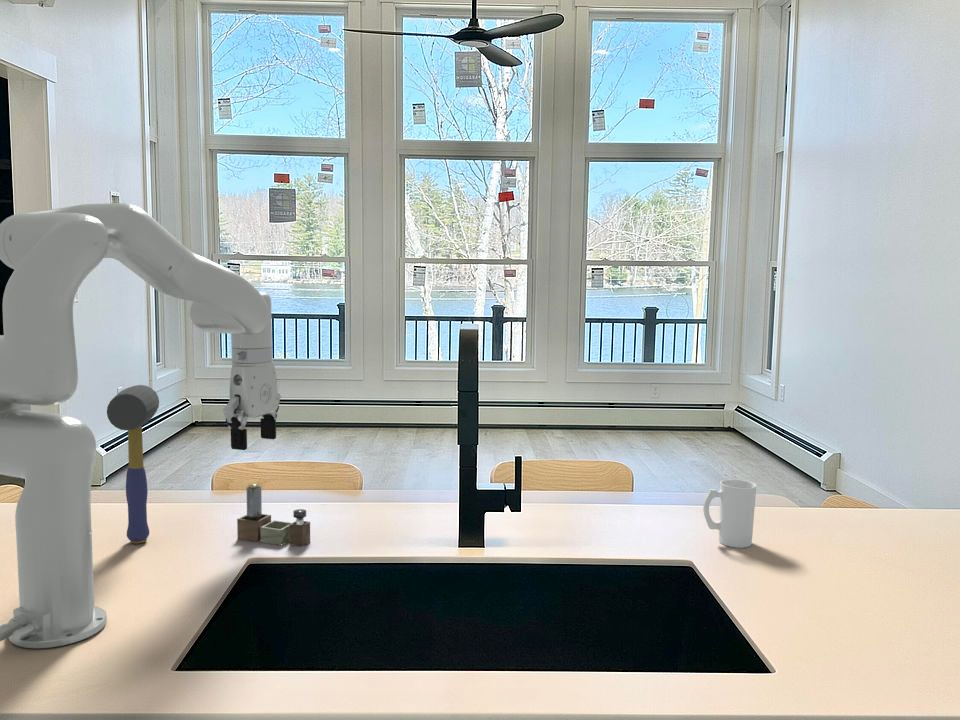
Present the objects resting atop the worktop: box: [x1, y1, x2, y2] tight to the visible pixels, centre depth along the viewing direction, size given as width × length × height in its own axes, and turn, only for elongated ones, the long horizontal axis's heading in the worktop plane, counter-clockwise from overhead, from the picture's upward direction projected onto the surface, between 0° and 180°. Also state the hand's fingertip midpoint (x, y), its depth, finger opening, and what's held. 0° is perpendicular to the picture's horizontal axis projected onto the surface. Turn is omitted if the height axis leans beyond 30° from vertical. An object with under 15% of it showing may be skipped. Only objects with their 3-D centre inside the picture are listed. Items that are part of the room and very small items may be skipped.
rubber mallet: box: [106, 384, 160, 544], centre depth 151 cm, size 12×8×30 cm, turn 11°
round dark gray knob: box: [292, 508, 307, 525], centre depth 153 cm, size 2×2×6 cm
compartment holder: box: [236, 513, 311, 547], centre depth 155 cm, size 5×14×4 cm, turn 71°
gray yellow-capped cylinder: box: [245, 482, 263, 521], centre depth 156 cm, size 3×3×11 cm
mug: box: [703, 478, 757, 549], centre depth 157 cm, size 10×7×12 cm, turn 92°
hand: (254, 443), depth 155 cm, fingers open, 9 cm apart
